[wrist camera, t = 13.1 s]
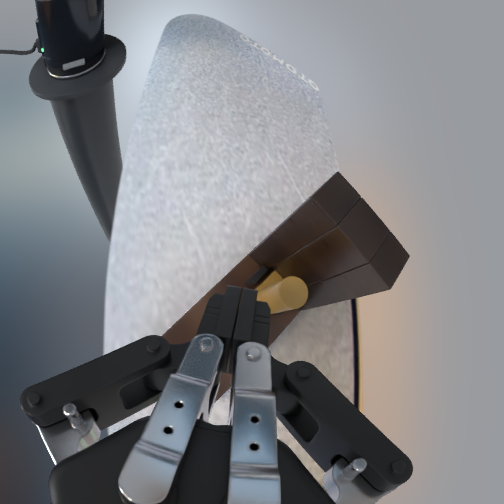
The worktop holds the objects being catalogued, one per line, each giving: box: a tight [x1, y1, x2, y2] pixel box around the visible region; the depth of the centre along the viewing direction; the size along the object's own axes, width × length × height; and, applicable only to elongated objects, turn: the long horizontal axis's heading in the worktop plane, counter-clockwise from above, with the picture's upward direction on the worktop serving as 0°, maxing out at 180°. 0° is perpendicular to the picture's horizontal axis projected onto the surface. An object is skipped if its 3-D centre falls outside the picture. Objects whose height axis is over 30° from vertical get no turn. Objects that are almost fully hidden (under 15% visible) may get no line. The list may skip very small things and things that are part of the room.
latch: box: [161, 172, 410, 403], centre depth 20 cm, size 15×7×14 cm, turn 135°
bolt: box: [254, 269, 308, 314], centre depth 22 cm, size 6×2×8 cm, turn 135°
